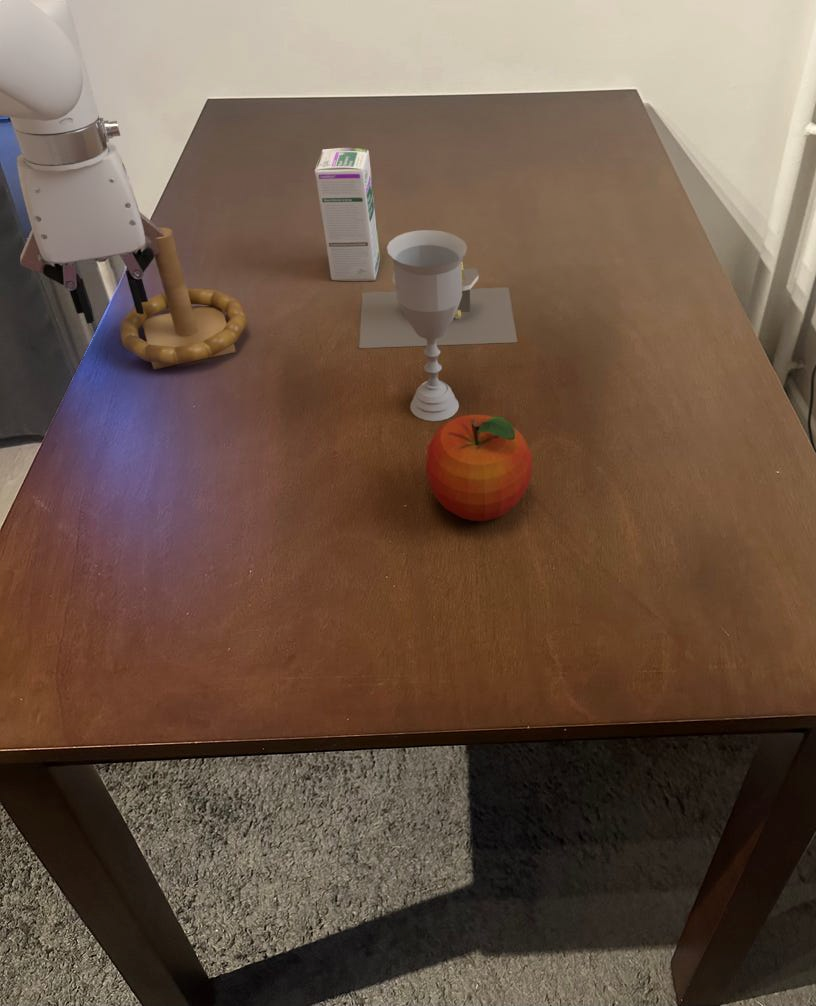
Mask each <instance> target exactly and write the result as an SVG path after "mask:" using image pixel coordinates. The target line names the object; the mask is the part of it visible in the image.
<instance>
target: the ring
mask: <svg viewBox="0 0 816 1006" xmlns="http://www.w3.org/2000/svg"><path fill="white" fill-rule="evenodd" d="M187 291H188V294H189V298H190V302H191V305H201V306H208V305H212V306H216V307H218V308H220V309H222V311H223V312H226V313H227V317H228V319H229V320H228V321H227V322H226V323H227V325H226V326H225V328H224V329H223V330H222V331H221V332H219V333H217V334H215V335H213V336H212V337H210V338H208V339H206V340H204V341H202V342H198V343H193V344H188V345H183V346H178V347H170V346H159V345H151V344H149V343H147V341H146V340H144V339H142V338H140V336H139V329H140V328H141V326H143V322H144V321H145V320H146V319H147V318H149V317H153V316H156V315H158V313H161V312H162V311H164V310H167V309H169V306H168V303H167V299H166V296H165V292H160V293H157V294H156V295H154V296H151V297H150V298H147V299H148V302H142V307H143V311H144V314H139V313H137V312H136V308H135V305H134V306H133V307H132V308H131V309H130V311H129V312H128V313H127V314H126V316H125V317H124V319H123V320H122V321H121V322H120V325H119V333H120V337H121V341H122V346H123V348H124V349H125V350H127V351H128V352H130V353H132V354H133V355H135V356H136V357H138V358H140V359H142V360H144V361H145V362H160V363H171V364H177V365H181V364H180V363H182V364H186V363H185V362H187V363H191V362H196V361H200V360H199V359H201V360H205V359H209V357H210V358H212V357H211V356H213V355H215V354H216V353H218V352H220V351H222V350H223V349H225V348H227V347H229V346H230V345H232V344H234V345H235V343H236V342H237V341H238V339H239V338H240V336H241V334H242V333H243V331H244V330H245V328H246V326H247V324H248V319H247V317H246V314H245V311H244V308H243V305H242V303H241V301H240V300H238V299H236V298H234V297H232V296H230V295H228V294H226V293H224V292H222V291H220V290H218V289H206V288H197V287H196V288H195V287H187ZM204 358H205V359H204ZM195 360H196V361H195ZM190 361H191V362H190Z"/></svg>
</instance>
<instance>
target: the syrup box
mask: <svg viewBox="0 0 816 1006" xmlns="http://www.w3.org/2000/svg"><path fill="white" fill-rule="evenodd" d="M370 159H371V158H370V151H369V150H368V149H367V148H355V147H337V148H327V149H325V148H323V149H322V150H321V153H320V156H319V158H318V159H317V162H316V166H315V169H314V175H315V181H316V188H317V189H316V190H317V195H318V202H319V209H320V216H321V223H322V230H323V236H324V242H325V248H326V255H327V261H328V268H329V274H330V280H331V281H337V282H338V281H339V282H374V281H376V279H377V274H378V271H379V266H380V263H381V262H380V261H381V251H380V250H381V249H380V242H379V241H380V240H379V233H378V232H379V231H378V224H377V215H376V206H375V204H376V203H375V196H374V187H373V178H372V170H371V168H372V167H371V161H370Z"/></svg>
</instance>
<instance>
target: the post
mask: <svg viewBox="0 0 816 1006" xmlns="http://www.w3.org/2000/svg"><path fill="white" fill-rule="evenodd" d="M159 228H160V229H161V230H162V231H163V233H164V236H163V237H158V238H155V240H156V243H157V246H158V249H159V253H158V254H156V255H155V256H154V260H155V264H156V267H157V272H158V274H159V277H160V281H161V285H162V289H163V293H165V296H166V299H167V303H168V306H169V308H168V310H169V312H168V313H163V314H157V315H153V316H151V317H149V318H147V319H146V320H145V321H144V322H143V324H142V327H143V332H144V336H145V342H147V343H149V344H151V345H159V346H170V347H178V346H183V345H188V344H193V343H198V342H202V341H204V340H206V339H208V338H210V337H212V336H213V335H215V334H217V333H219V332H221V331H222V330H223V329H224V328H225V326H226V325H227V323H228V322H227V320H226V317H225V315H224V310H222V309H220V308H218V307H216V306H212V305H202V306H199V307H194V308H193V306H192V304H191V302H190V298H189V294H188V291H187V288H188V287H187V283H186V279H185V275H184V272H183V267H182V264H181V260H180V257H179V252H178V249H177V245H176V242H175V241H176V240H175V238H174V234H173V230H172V229H171V228H169V227H164V226H163V227H162V226H161V227H159ZM149 239H150V238H148V240H149ZM233 353H236V346H235V343H234V344H232V345H230V346H229V347H227V348H225V349H223V350H222V351H220V352H218V353H216V354H215V355H213V356H211V357H209V358H214V357H220V356H224V355H228V354H233ZM209 358H208V359H209ZM205 359H206V358H204V359H203V360H205ZM201 360H202V359H199V360H198V361H201ZM196 361H197V360H195V361H194V362H196ZM191 362H192V361H190V362H189V363H191ZM186 363H188V362H185V363H184V364H186ZM181 364H183V363H180V364H179V365H181ZM176 365H178V364H171V363H160V362H151V366H152V369H153V370H158V369H163V368H167V367H173V366H176Z"/></svg>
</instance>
